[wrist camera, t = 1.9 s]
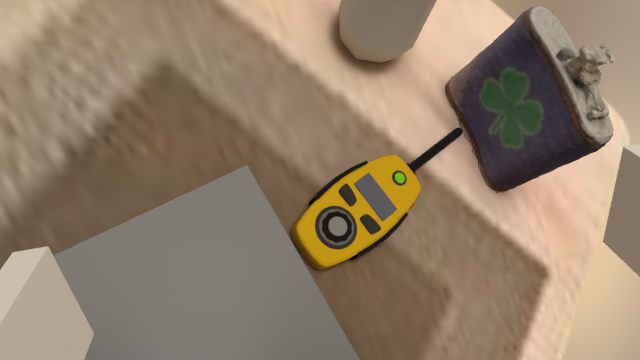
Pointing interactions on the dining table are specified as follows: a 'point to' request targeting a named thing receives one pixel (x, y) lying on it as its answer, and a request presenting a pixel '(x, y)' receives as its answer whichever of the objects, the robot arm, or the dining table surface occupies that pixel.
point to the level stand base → (202, 283)
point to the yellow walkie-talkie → (360, 208)
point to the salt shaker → (381, 27)
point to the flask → (531, 101)
